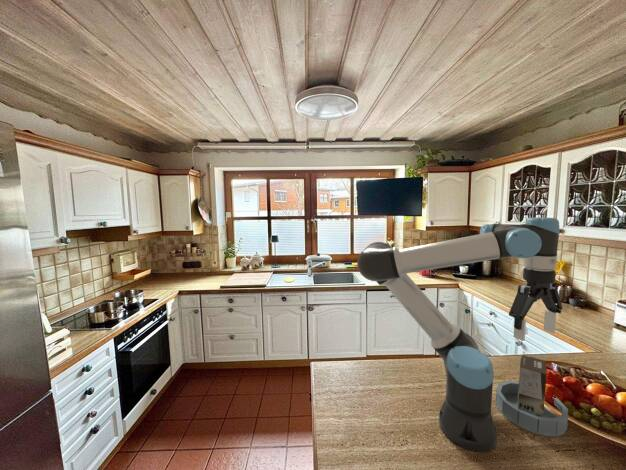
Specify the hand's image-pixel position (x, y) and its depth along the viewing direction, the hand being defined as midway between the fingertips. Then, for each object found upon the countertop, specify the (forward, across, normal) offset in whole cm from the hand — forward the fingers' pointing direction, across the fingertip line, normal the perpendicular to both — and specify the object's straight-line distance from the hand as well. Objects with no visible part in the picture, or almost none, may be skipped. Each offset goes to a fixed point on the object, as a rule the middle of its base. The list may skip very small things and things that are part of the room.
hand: (534, 335), depth 82 cm
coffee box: (+26, 0, 0) cm, 26 cm away
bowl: (+27, 0, 0) cm, 27 cm away
